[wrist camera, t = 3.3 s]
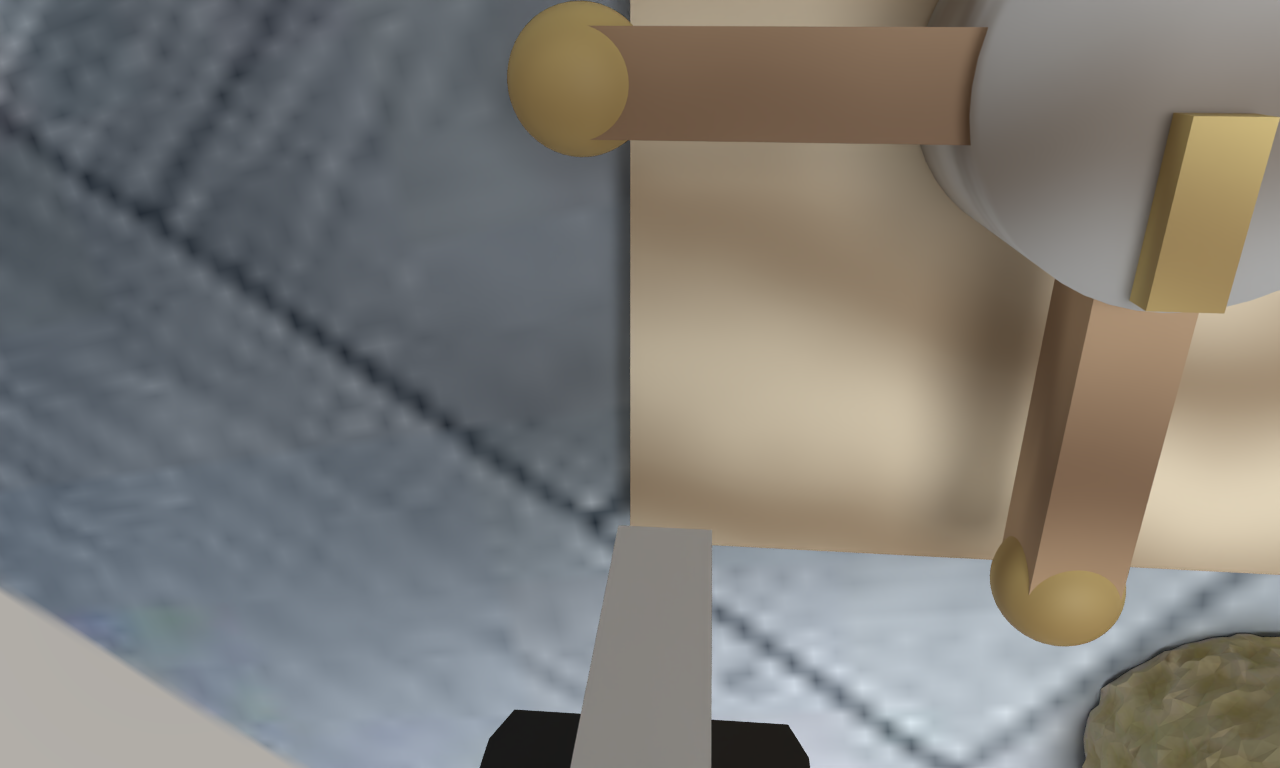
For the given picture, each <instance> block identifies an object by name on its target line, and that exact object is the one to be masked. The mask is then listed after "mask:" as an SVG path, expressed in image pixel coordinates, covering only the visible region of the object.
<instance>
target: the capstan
mask: <svg viewBox="0 0 1280 768" xmlns="http://www.w3.org/2000/svg"><path fill="white" fill-rule="evenodd" d="M507 84H508V92H509V96H510V100H511V103H512V106H513V109H514V111H515V113H516V115H517V117H518V119H519V121H520V122H521V124H522V125H523V126H524V128H525V129H526V130H527V131H528V132H529V134H530V135H531V136H533V137H534V138H535V139H536V140H537V141H538V142H540V143H541V144H543V145H544V146H546V147H547V148H549V149H551V150H553V151H555V152H558V153H561V154H564V155H569V156H574V157H591V156H597V155H601V154H604V153H607V152H609V151H612V150H614V149H616V148H618V147H619V146H621V145H622V144H624V143H625V142H626V141H627V140H639V141H706V142H774V143H841V144H909V145H920V147H921V150H922V152H923V155H924V158H925V161H926V163H927V165H928V167H929V169H930V170H931V172H932V174H933V176H934V178H935V180H936V181H937V183H938V184H939V185H940V187H941V188H942V189H943V191H944V192H945V193H946V195H947V196H948V197H949V198H950V199H951V200H952V201H953V202H954V203H955V204H956V205H957V206H958V207H959V208H960V209H961V210H962V211H963V212H965V213H966V214H967V215H969V216H970V217H971V218H973V219H974V220H976V221H977V222H978V223H980V224H981V225H982V226H984V227H985V228H986V229H988V230H989V231H991V232H992V233H993V234H995V235H996V236H997V237H999V238H1000V239H1002V240H1003V241H1004V242H1006V243H1007V244H1008V245H1010V246H1011V247H1012V248H1014V249H1015V250H1017V251H1018V252H1019V253H1021V254H1022V255H1023V256H1025V257H1026V258H1028V259H1029V260H1030V261H1032V262H1033V263H1034V264H1036V265H1037V266H1039V267H1040V268H1041V269H1043V270H1044V271H1045V272H1047V273H1048V274H1050V275H1051V276H1052V277H1054V278H1055V280H1054V285H1053V290H1052V295H1051V300H1050V305H1049V310H1048V315H1047V320H1046V325H1045V330H1044V335H1043V340H1042V345H1041V350H1040V355H1039V360H1038V365H1037V370H1036V375H1035V381H1034V386H1033V391H1032V396H1031V401H1030V406H1029V411H1028V416H1027V421H1026V426H1025V431H1024V436H1023V441H1022V446H1021V451H1020V456H1019V461H1018V466H1017V471H1016V476H1015V481H1014V486H1013V491H1012V496H1011V501H1010V506H1009V511H1008V516H1007V521H1006V526H1005V531H1004V536H1003V541H1002V544H1001V545H1000V546H999V548H998V549H997V551H996V553H995V556H994V558H993V561H992V564H991V570H990V585H991V590H992V594H993V597H994V600H995V602H996V605H997V606H998V608H999V610H1000V611H1001V613H1002V615H1003V616H1004V617H1005V618H1006V619H1007V621H1008V622H1009V623H1010V624H1011V625H1012V626H1013V627H1015V628H1016V629H1017V630H1018V631H1020V632H1021V633H1023V634H1024V635H1026V636H1028V637H1030V638H1032V639H1034V640H1036V641H1038V642H1041V643H1045V644H1049V645H1054V646H1076V645H1081V644H1085V643H1088V642H1090V641H1093V640H1095V639H1097V638H1099V637H1100V636H1102V635H1103V634H1104V633H1106V632H1107V631H1108V630H1109V629H1110V628H1111V627H1112V626H1113V625H1114V624H1115V622H1116V621H1117V620H1118V618H1119V616H1120V614H1121V612H1122V609H1123V606H1124V603H1125V597H1126V580H1127V577H1128V573H1129V569H1130V566H1131V562H1132V558H1133V554H1134V551H1135V547H1136V543H1137V540H1138V536H1139V532H1140V529H1141V525H1142V521H1143V518H1144V514H1145V510H1146V506H1147V503H1148V499H1149V495H1150V492H1151V488H1152V484H1153V481H1154V477H1155V473H1156V470H1157V466H1158V462H1159V459H1160V455H1161V451H1162V447H1163V444H1164V440H1165V436H1166V433H1167V429H1168V425H1169V422H1170V418H1171V414H1172V411H1173V407H1174V403H1175V399H1176V396H1177V392H1178V388H1179V385H1180V381H1181V377H1182V374H1183V370H1184V366H1185V363H1186V359H1187V355H1188V352H1189V348H1190V344H1191V340H1192V337H1193V333H1194V329H1195V326H1196V322H1197V318H1198V315H1199V313H1219V314H1224V313H1225V310H1226V307H1228V306H1232V305H1236V304H1239V303H1243V302H1247V301H1251V300H1254V299H1257V298H1260V297H1262V296H1265V295H1268V294H1270V293H1273V292H1276V291H1278V290H1280V0H939V1H938V3H937V5H936V7H935V9H934V11H933V13H932V16H931V18H930V20H929V22H928V25H927V27H808V26H633V25H632V24H631V23H630V22H629V21H628V20H627V19H626V18H625V17H624V16H622V15H621V14H620V13H618V12H617V11H615V10H613V9H611V8H609V7H607V6H604V5H602V4H599V3H594V2H590V1H569V2H565V3H560V4H557V5H554V6H552V7H549V8H547V9H546V10H544V11H542V12H540V13H539V14H538V15H536V16H535V17H534V18H533V19H532V20H531V21H530V22H529V23H528V24H527V25H526V26H525V27H524V29H523V30H522V31H521V33H520V34H519V36H518V38H517V40H516V41H515V44H514V46H513V49H512V51H511V54H510V58H509V62H508V70H507Z"/></svg>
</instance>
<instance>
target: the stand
mask: <svg viewBox="0 0 1280 768" xmlns="http://www.w3.org/2000/svg"><path fill="white" fill-rule="evenodd" d="M938 1H939V0H630V23H631V24H632V25H633V26H808V27H927V25H928V22H929V20H930V18H931V16H932V13H933V11H934V9H935V7H936V5H937V3H938ZM1054 280H1055V278H1054V277H1052V276H1051V275H1050V274H1048V273H1047V272H1045V271H1044V270H1043V269H1041V268H1040V267H1039V266H1037V265H1036V264H1034V263H1033V262H1032V261H1030V260H1029V259H1028V258H1026V257H1025V256H1023V255H1022V254H1021V253H1019V252H1018V251H1017V250H1015V249H1014V248H1012V247H1011V246H1010V245H1008V244H1007V243H1006V242H1004V241H1003V240H1002V239H1000V238H999V237H997V236H996V235H995V234H993V233H992V232H991V231H989V230H988V229H986V228H985V227H984V226H982V225H981V224H980V223H978V222H977V221H976V220H974V219H973V218H971V217H970V216H969V215H967V214H966V213H965V212H963V211H962V210H961V209H960V208H959V207H958V206H957V205H956V204H955V203H954V202H953V201H952V200H951V199H950V198H949V197H948V196H947V195H946V193H945V192H944V191H943V189H942V188H941V187H940V185H939V184H938V183H937V181H936V180H935V178H934V176H933V174H932V172H931V170H930V169H929V167H928V165H927V163H926V161H925V158H924V155H923V152H922V150H921V147H920V145H909V144H841V143H774V142H706V141H639V140H630V526H641V527H662V528H683V529H704V530H712V545H721V546H740V547H759V548H778V549H797V550H816V551H835V552H854V553H873V554H893V555H912V556H931V557H950V558H969V559H988V560H993V558H994V556H995V553H996V551H997V549H998V548H999V546H1000V545H1001V544H1002V541H1003V536H1004V531H1005V526H1006V521H1007V516H1008V511H1009V506H1010V501H1011V496H1012V491H1013V486H1014V481H1015V476H1016V471H1017V466H1018V461H1019V456H1020V451H1021V446H1022V441H1023V436H1024V431H1025V426H1026V421H1027V416H1028V411H1029V406H1030V401H1031V396H1032V391H1033V386H1034V381H1035V375H1036V370H1037V365H1038V360H1039V355H1040V350H1041V345H1042V340H1043V335H1044V330H1045V325H1046V320H1047V315H1048V310H1049V305H1050V300H1051V295H1052V290H1053V285H1054ZM1130 567H1140V568H1159V569H1178V570H1197V571H1217V572H1236V573H1255V574H1274V575H1280V290H1278V291H1276V292H1273V293H1270V294H1268V295H1265V296H1262V297H1260V298H1257V299H1254V300H1251V301H1247V302H1243V303H1239V304H1236V305H1232V306H1228V307H1226V310H1225V313H1224V314H1219V313H1199V315H1198V318H1197V322H1196V326H1195V329H1194V333H1193V337H1192V340H1191V344H1190V348H1189V352H1188V355H1187V359H1186V363H1185V366H1184V370H1183V374H1182V377H1181V381H1180V385H1179V388H1178V392H1177V396H1176V399H1175V403H1174V407H1173V411H1172V414H1171V418H1170V422H1169V425H1168V429H1167V433H1166V436H1165V440H1164V444H1163V447H1162V451H1161V455H1160V459H1159V462H1158V466H1157V470H1156V473H1155V477H1154V481H1153V484H1152V488H1151V492H1150V495H1149V499H1148V503H1147V506H1146V510H1145V514H1144V518H1143V521H1142V525H1141V529H1140V532H1139V536H1138V540H1137V543H1136V547H1135V551H1134V554H1133V558H1132V562H1131V566H1130Z"/></svg>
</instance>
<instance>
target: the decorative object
mask: <svg viewBox="0 0 1280 768" xmlns="http://www.w3.org/2000/svg"><path fill="white" fill-rule="evenodd" d="M1083 741H1084V751H1085V756H1086V760H1085V762H1084V764H1083V766H1082V768H1280V637H1259V636H1256V635H1253V634H1236V635H1234V636H1231V637H1218V638H1209V639H1206V640H1203V641H1200V642H1194V643H1188V644H1184V645H1181V646H1179V647H1177V648H1175V649H1173V650H1169V651H1164V652H1163V653H1161V654H1159V655H1158V656H1156V657H1154V658H1153V659H1151V660H1149V661H1147V662H1145V663H1143V664H1141V665H1139V666H1137V667H1135V668H1133V669H1131V670H1129V671H1128V672H1126V673H1125V674H1123V675H1122V676H1120V677H1119V678H1117V679H1116V680H1114V681H1113V682H1111V683H1109V684H1108V685H1106V686H1105V687H1103V688H1102V689H1101V692H1100V703H1099V705H1098V706H1097V707H1095V708H1094V709H1093V710H1091V711H1090V714H1089V717H1088V720H1087V724H1086V729H1085V733H1084V738H1083Z"/></svg>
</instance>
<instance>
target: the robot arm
mask: <svg viewBox="0 0 1280 768" xmlns="http://www.w3.org/2000/svg"><path fill="white" fill-rule="evenodd" d="M711 675H712V530H704V529H683V528H662V527H641V526H621V525H618V530H617V535H616V540H615V545H614V550H613V555H612V560H611V565H610V570H609V575H608V580H607V585H606V590H605V595H604V600H603V605H602V610H601V615H600V620H599V625H598V630H597V635H596V641H595V646H594V651H593V656H592V661H591V666H590V671H589V676H588V681H587V686H586V691H585V696H584V701H583V706H582V711H581V714H575V713H559V712H544V711H528V710H514V711H513V712H512V713H511V714H510V715H509V717H508V718H507V719H506V720H505V721H504V722H503V724H502V725H501V726H500V727H499V728H498V729H497V730H496V732H495V733H494V734H493V735H492V736H491V737H490V738H489V741H488V744H487V747H486V750H485V753H484V756H483V759H482V762H481V766H480V768H810V763H809V757H808V756H807V754H806V753H805V751H804V749H803V748H802V746H801V745H800V743H799V741H798V740H797V738H796V737H795V735H794V733H793V732H792V730H791V729H790V727H789V725H785V724H770V723H754V722H738V721H723V720H711Z"/></svg>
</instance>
